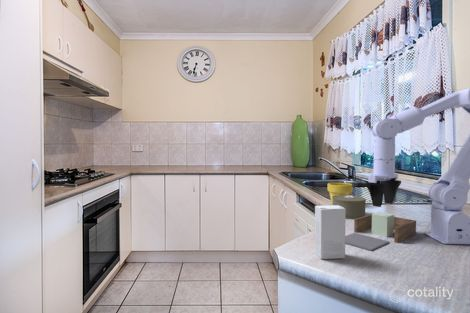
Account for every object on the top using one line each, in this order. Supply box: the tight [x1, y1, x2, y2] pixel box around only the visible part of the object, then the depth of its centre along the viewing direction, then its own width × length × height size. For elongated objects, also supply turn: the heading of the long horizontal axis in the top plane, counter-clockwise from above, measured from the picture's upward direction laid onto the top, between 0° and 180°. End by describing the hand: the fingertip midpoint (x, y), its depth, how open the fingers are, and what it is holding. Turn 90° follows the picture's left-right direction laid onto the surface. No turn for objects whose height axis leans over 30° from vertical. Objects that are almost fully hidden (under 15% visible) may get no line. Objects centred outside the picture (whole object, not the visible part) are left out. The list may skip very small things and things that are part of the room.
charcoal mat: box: [345, 232, 390, 252], centre depth 80 cm, size 10×10×1 cm
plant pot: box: [327, 182, 353, 205], centre depth 128 cm, size 10×10×10 cm
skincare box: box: [314, 204, 346, 260], centre depth 70 cm, size 6×4×12 cm
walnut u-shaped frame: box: [353, 212, 417, 243], centre depth 88 cm, size 13×13×4 cm
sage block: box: [371, 211, 395, 238], centre depth 88 cm, size 4×4×6 cm
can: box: [332, 194, 367, 220], centre depth 110 cm, size 12×12×7 cm
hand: (383, 204), depth 87 cm, fingers open, 7 cm apart
